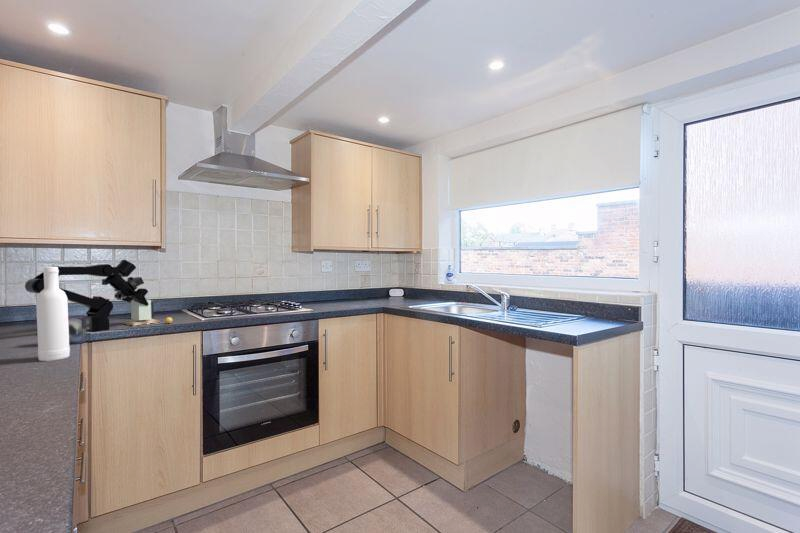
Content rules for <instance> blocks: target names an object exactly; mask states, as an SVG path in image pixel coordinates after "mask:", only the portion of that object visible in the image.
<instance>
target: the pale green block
mask: <svg viewBox="0 0 800 533" xmlns="http://www.w3.org/2000/svg"><path fill="white" fill-rule="evenodd" d="M146 300H147V302H148V304H149V305H148V306H146V305H143V304H140V303H138V302H135V301H134V300H132V301H131V303H130V314H131V315H130V317H131V318H130V321H133V320H146V319H152V318H151V301H152V300H151V299H146Z"/></svg>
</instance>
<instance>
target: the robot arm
mask: <svg viewBox="0 0 800 533" xmlns="http://www.w3.org/2000/svg"><path fill="white" fill-rule="evenodd" d="M50 267H58V270H59V273H58V278H59V277H60V276H75V275H77V276H82V275H85V276H93V277H103V279H101V281H102V282H101V285H102V286H107V285H109V286H111V287H112V288H113V290H114V292H115V294H114V298H115V299H116V300H119V301H122V302H127V303H130V304H131V301H132V300H134V301H135V302H138V303H140V304H143V305H146V306H148V305H149V304H148V302H147V300H148V299H147V298H146V295H147V294H148V293H149V290H148V289H147V288H138V287H139V286H141V285H143V284H145V282H144V280H143V277H141V276H140V277H139V276H137V277H133V276H130V275H131V274H132V273H133V272H134V271H135V270H136V269H137V266H136V265H135V264H134V263H132V262H131V261H127V259H121V261H120V262H119V263H118V264H117V265H116V266H112V265H111V264H108V263H103V264H101V263H100V264H93V265H88V266H58V265H53V266H52V265H51V266H50ZM104 277H105V278H104ZM125 278H127V279H125ZM24 288H25V290H26V292H29V293H31V294H37V295H38V294H39V293H40V292H41V291H42V290H43V289H44V273H43V271H42V272H40V274H38V275H36V276H35V277H34V278H31V279H29V280H27V281H25V284H24ZM59 288H60V289H61V290H63V291H64V292H65V294H66V296H67V299H68V302H71V303H75V304H79V305H81V306H84V307H86V308H88V310H87V311H86V313H85V315H86V317H88V323H89V324H88V325H89V326H88V327H89V328H88V329H87V330H88V331H89V330H90V331H89V332H99V331H98V330H101V331H106V330H107V329H108V330H110V329H111V328H110V318H109V317H110V315H111V312H112V311H113V308H114V303H113V302H112V301H111V300H110V299H109V298H105V297H102V296H101V295H100V296H98V295H97V296H95V295H93V296H92V297H89V296H85V295H83V294H80V293H77V292H74V291H70V290H68V289H64V288H61V287H59Z"/></svg>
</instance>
